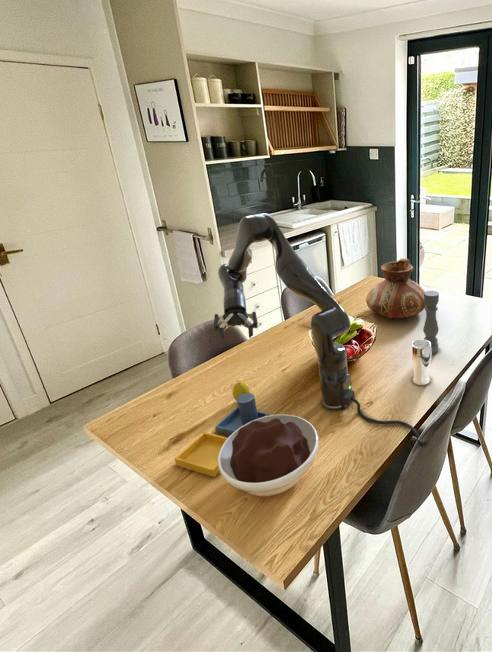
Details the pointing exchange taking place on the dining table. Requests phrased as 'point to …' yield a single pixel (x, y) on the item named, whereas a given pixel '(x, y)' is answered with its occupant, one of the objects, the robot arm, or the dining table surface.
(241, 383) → the lemon
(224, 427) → the blue tray
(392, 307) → the painted clay pot
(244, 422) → the blue cylinder
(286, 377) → the dining table surface
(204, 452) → the yellow tray
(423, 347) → the silver metal cylinder
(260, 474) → the white serving bowl
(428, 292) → the grey pepper mill
